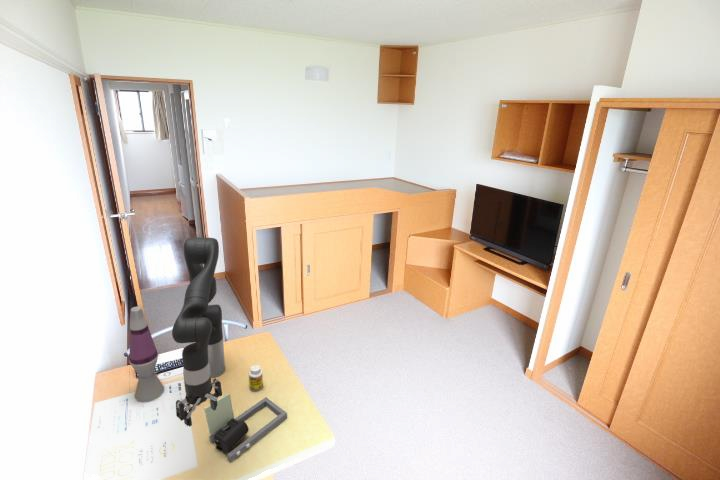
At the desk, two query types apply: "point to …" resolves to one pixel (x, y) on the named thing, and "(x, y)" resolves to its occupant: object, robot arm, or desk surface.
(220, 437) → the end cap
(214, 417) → the lid
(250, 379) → the supplement bottle
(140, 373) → the lamp
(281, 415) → the grey frame
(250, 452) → the desk surface
